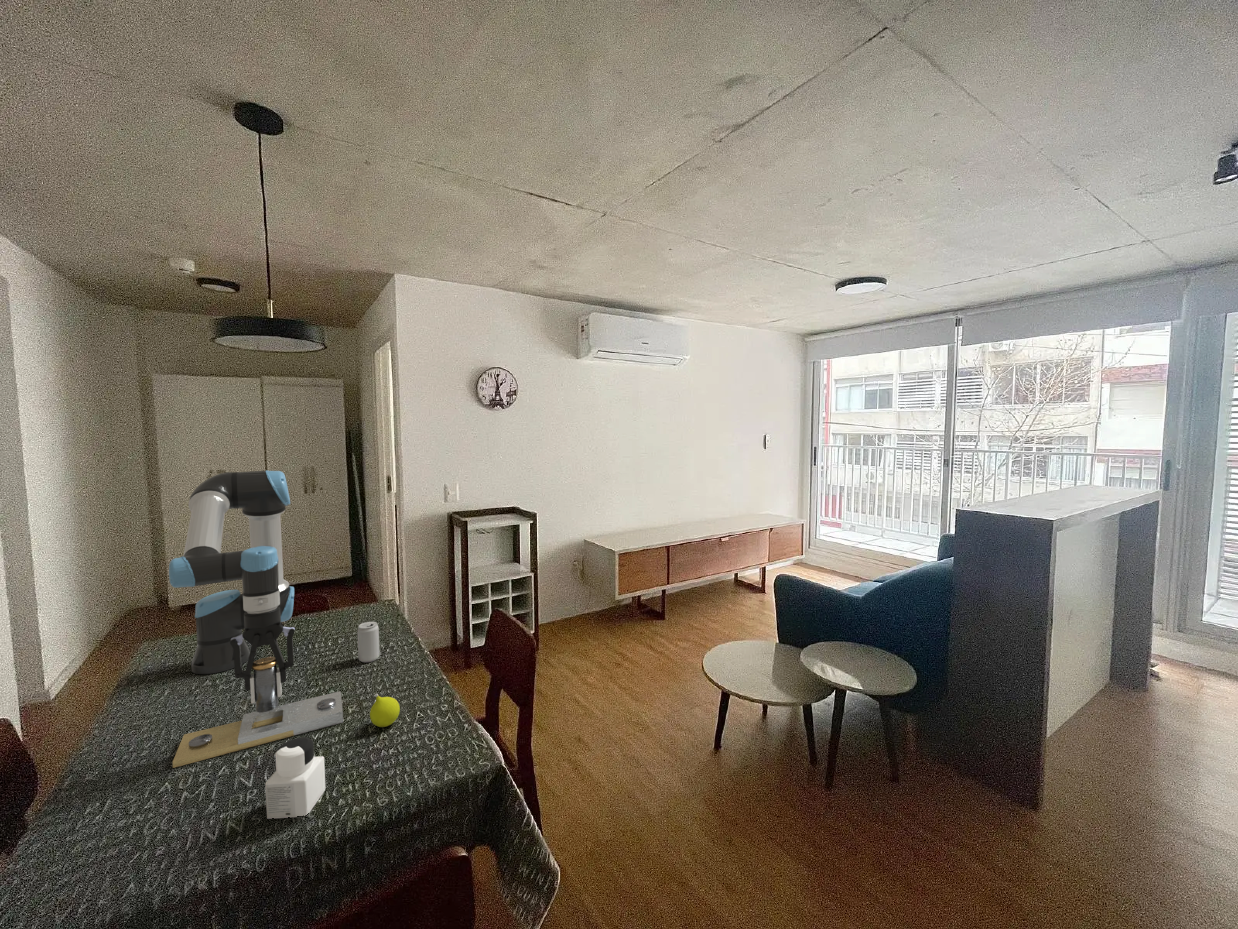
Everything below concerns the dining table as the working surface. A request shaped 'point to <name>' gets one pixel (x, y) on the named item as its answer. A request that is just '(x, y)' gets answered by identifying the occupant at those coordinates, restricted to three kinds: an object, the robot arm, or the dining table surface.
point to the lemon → (384, 711)
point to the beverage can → (368, 642)
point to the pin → (265, 684)
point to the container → (295, 780)
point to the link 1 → (220, 742)
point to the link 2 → (294, 717)
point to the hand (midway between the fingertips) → (266, 697)
